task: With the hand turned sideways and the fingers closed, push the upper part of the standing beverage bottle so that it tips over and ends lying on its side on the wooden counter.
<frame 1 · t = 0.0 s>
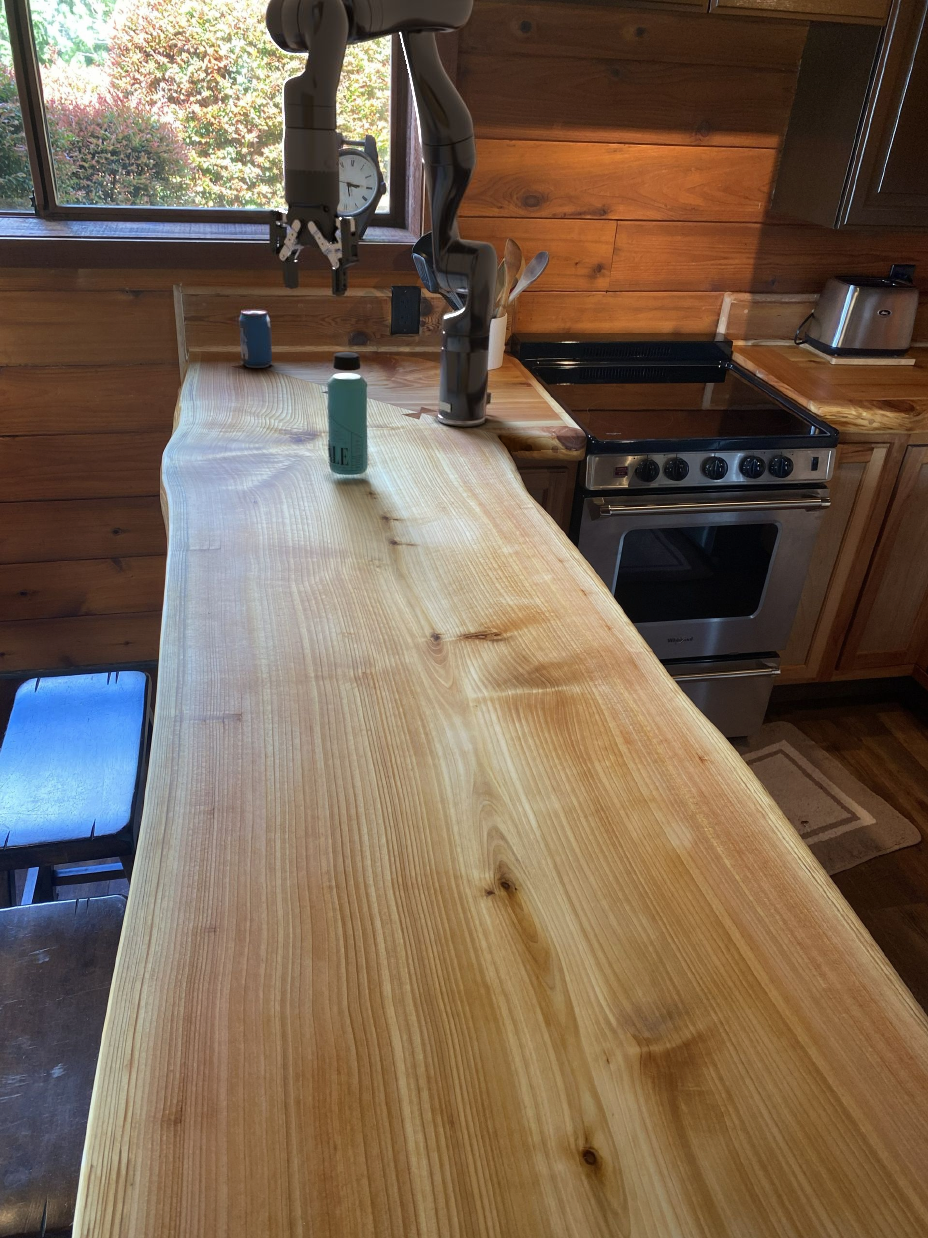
hand: (314, 291, 130), 29 cm above the kitchen counter, tool pointing down, fingers open, 8 cm apart
beverage bottle: (348, 478, 147), on the kitchen counter
soda can: (257, 365, 210), on the kitchen counter
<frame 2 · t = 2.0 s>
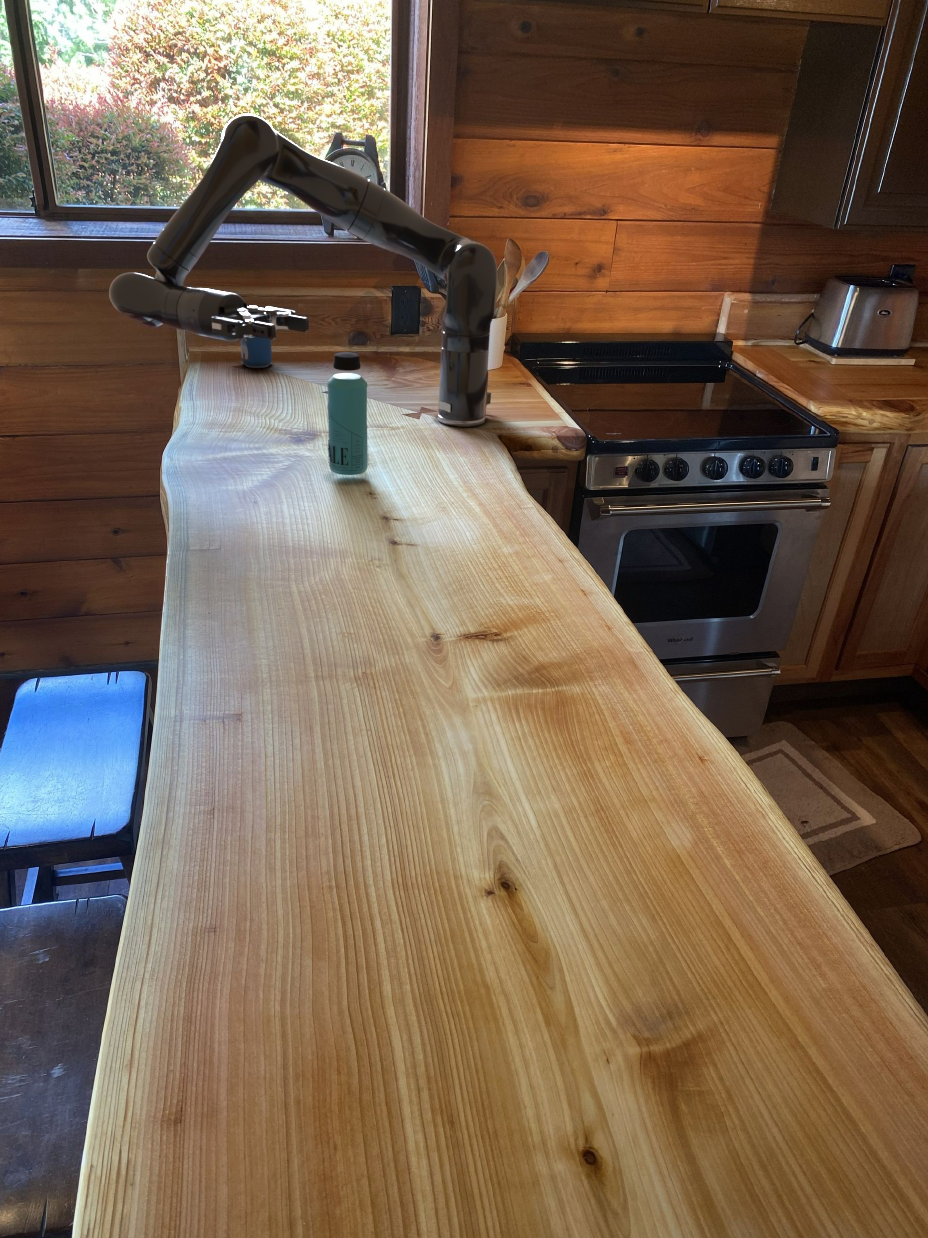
hand: (291, 328, 141), 22 cm above the kitchen counter, tool horizontal, fingers open, 7 cm apart
nothing on the kitchen counter moved.
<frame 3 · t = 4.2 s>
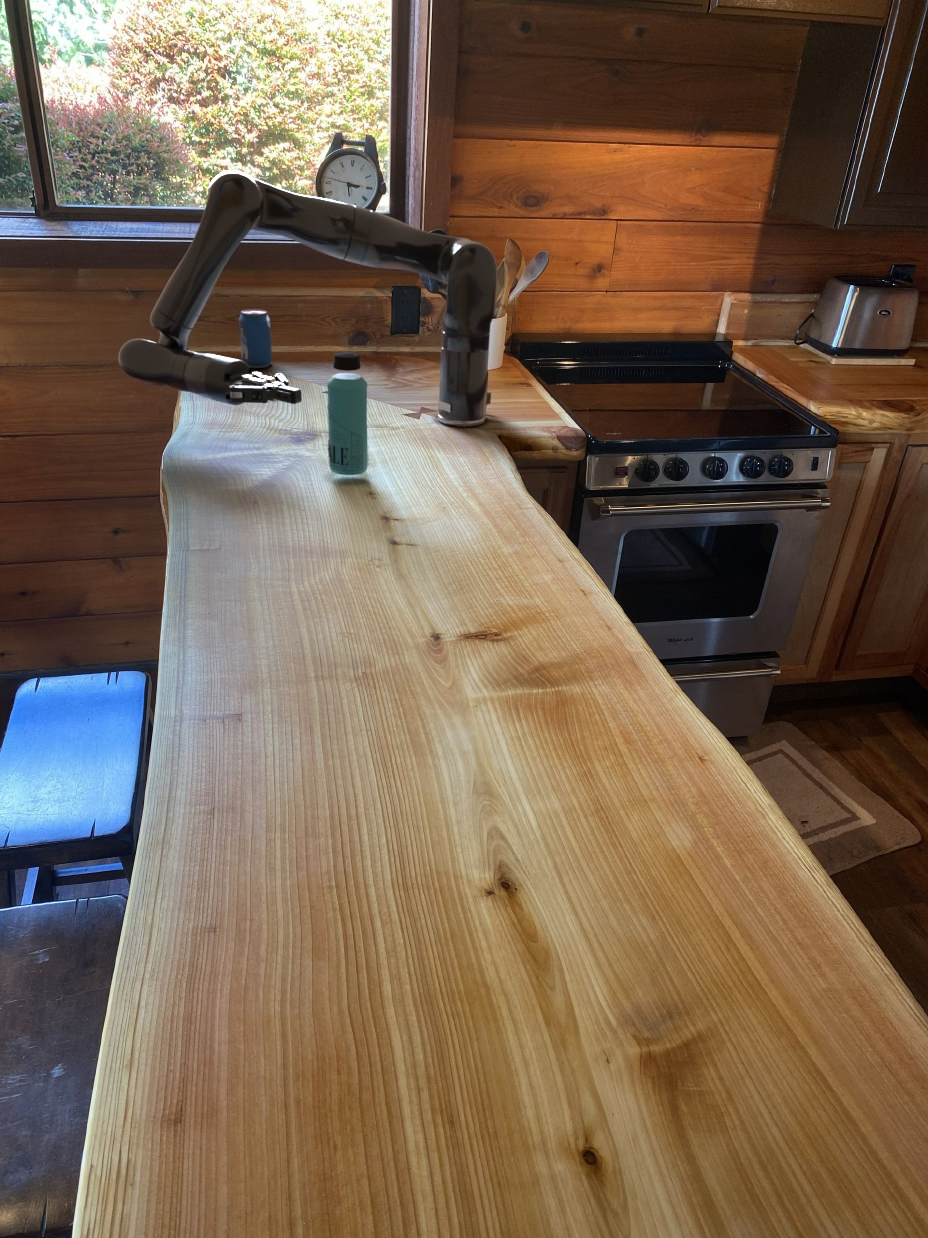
hand: (298, 396, 146), 12 cm above the kitchen counter, tool horizontal, fingers closed
nothing on the kitchen counter moved.
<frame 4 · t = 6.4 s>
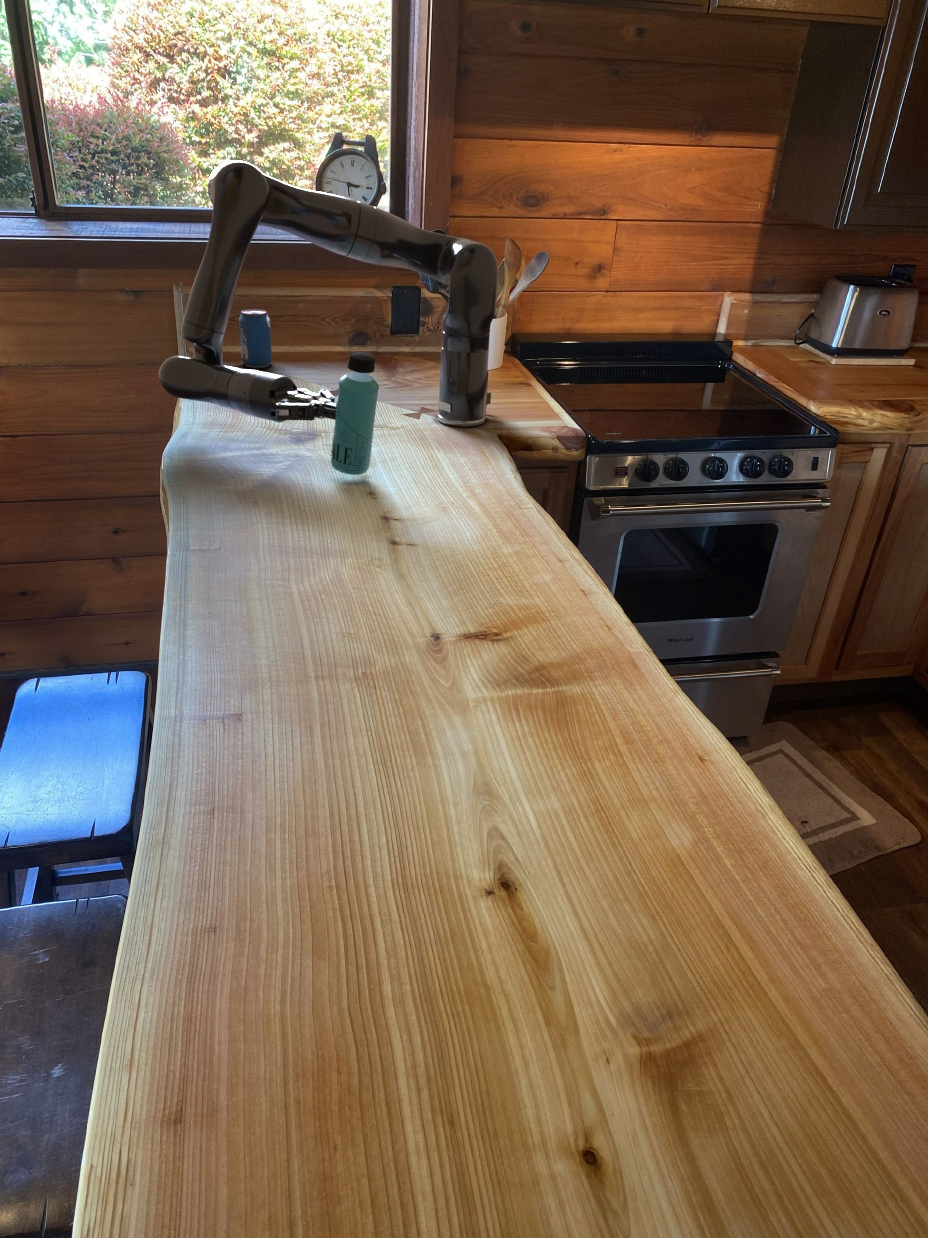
hand: (346, 413, 142), 11 cm above the kitchen counter, tool horizontal, fingers closed
beverage bottle: (348, 476, 147), on the kitchen counter, touching gripper
everything else where it was.
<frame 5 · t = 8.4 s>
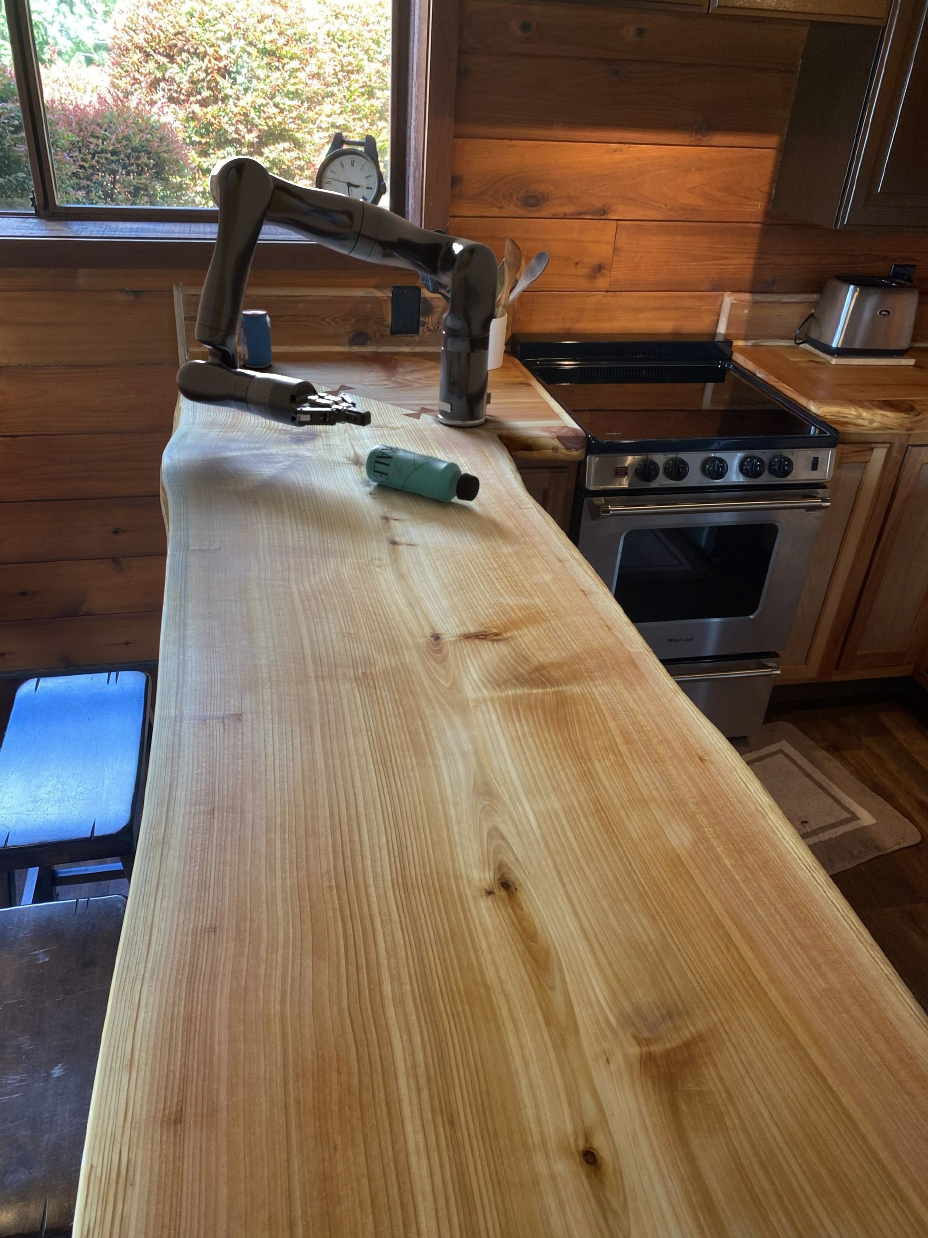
hand: (368, 419, 141), 10 cm above the kitchen counter, tool horizontal, fingers closed
beverage bottle: (368, 460, 145), point 3 cm above the kitchen counter
everything else where it was.
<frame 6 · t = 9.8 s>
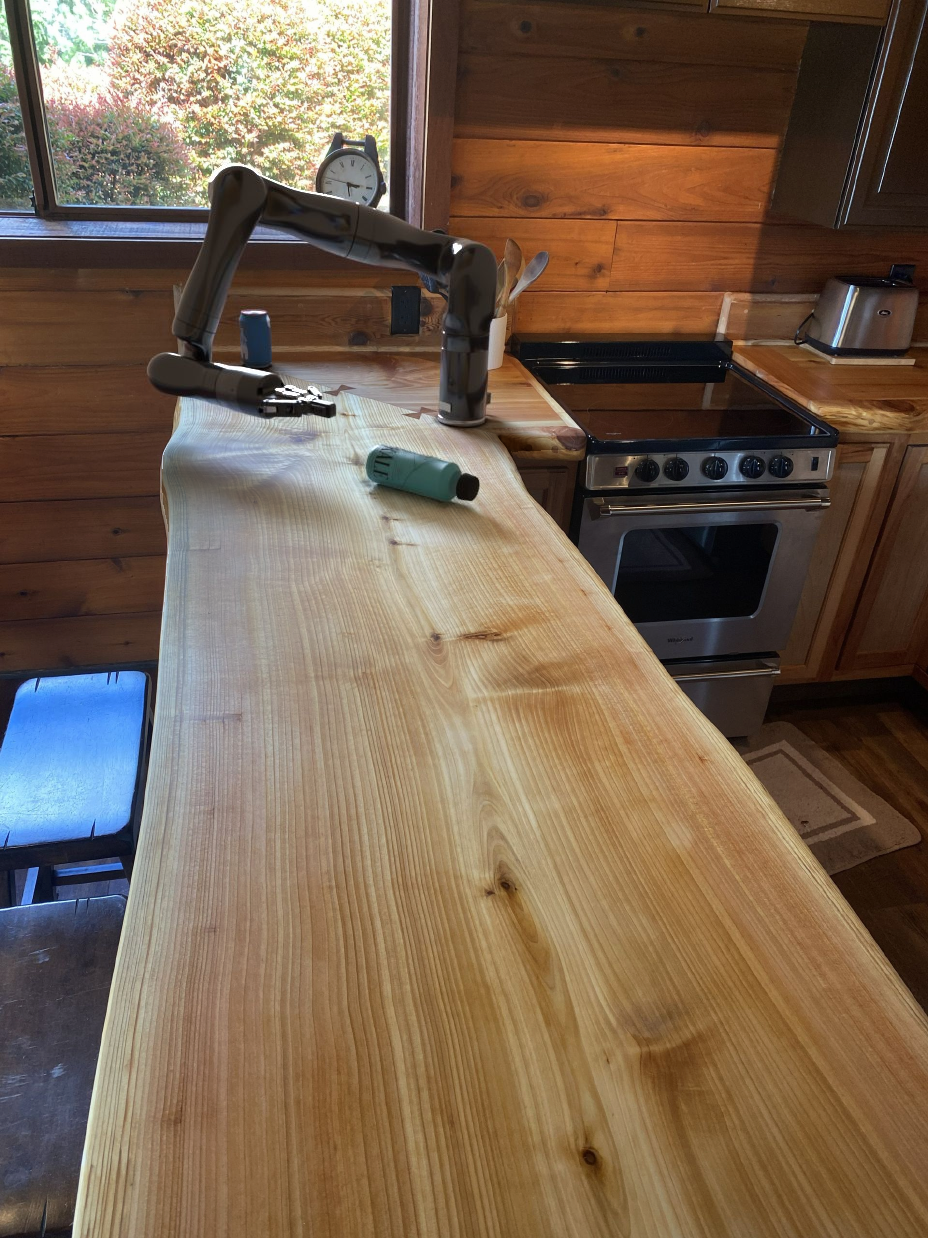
hand: (333, 410, 143), 11 cm above the kitchen counter, tool horizontal, fingers closed
nothing on the kitchen counter moved.
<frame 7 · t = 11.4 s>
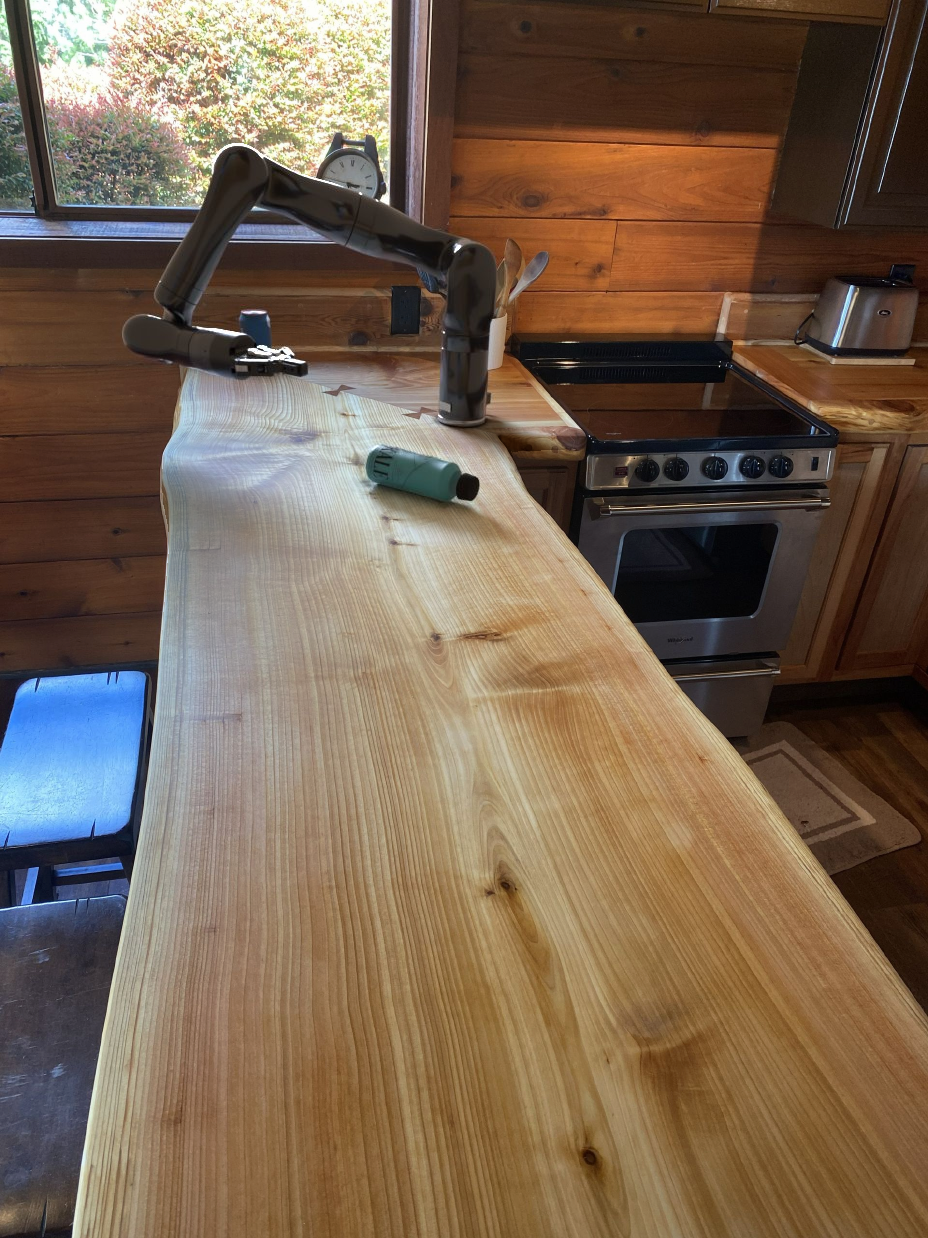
hand: (305, 369, 144), 16 cm above the kitchen counter, tool horizontal, fingers closed
nothing on the kitchen counter moved.
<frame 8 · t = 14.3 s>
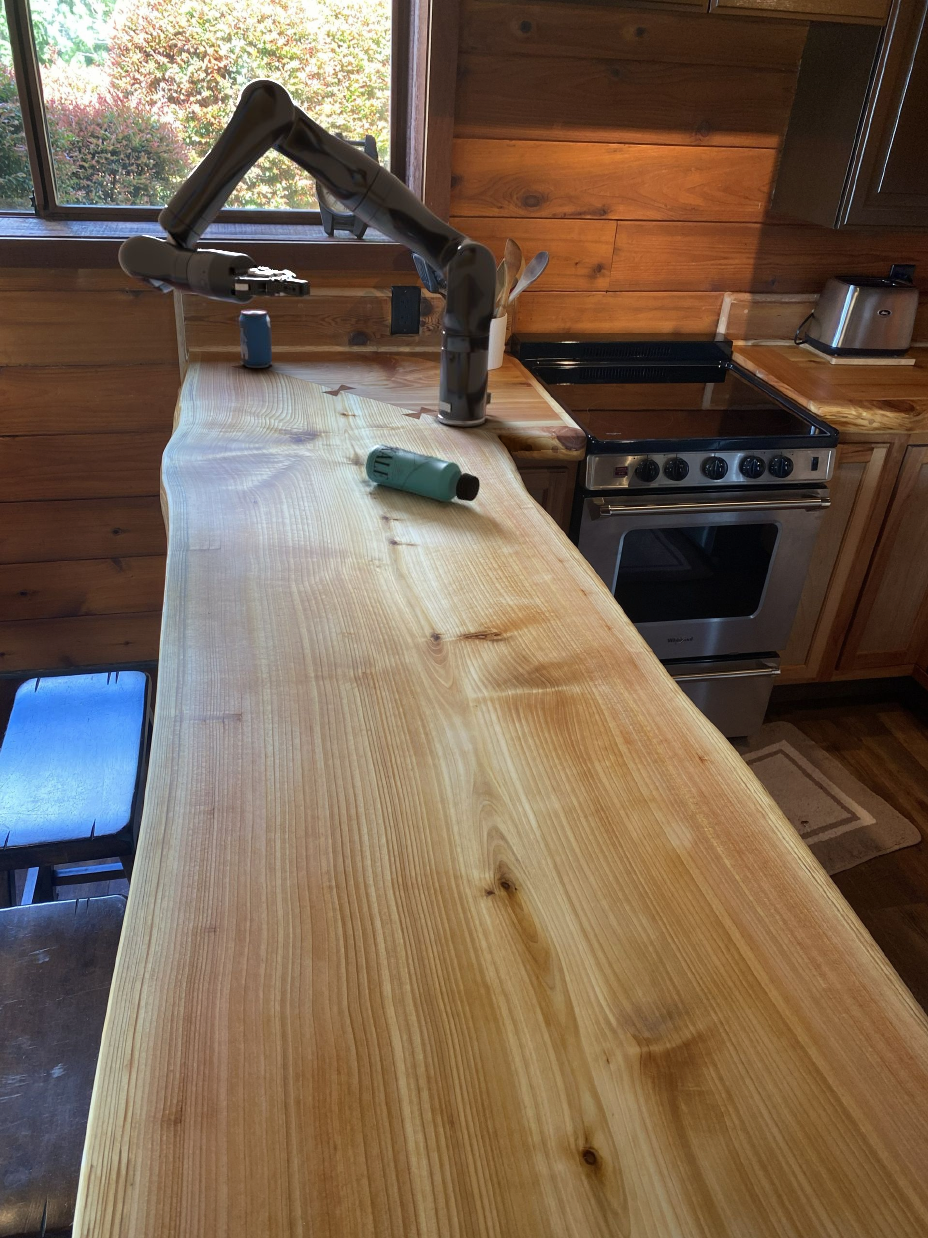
hand: (307, 289, 139), 28 cm above the kitchen counter, tool horizontal, fingers closed
nothing on the kitchen counter moved.
at the end: beverage bottle tilted 90°; beverage bottle inside the target area (2.1 cm from its centre), point 3.2 cm above the kitchen counter; the gripper is holding nothing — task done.
